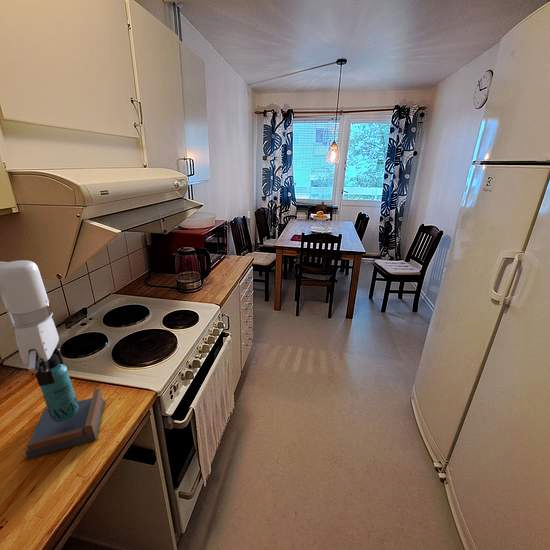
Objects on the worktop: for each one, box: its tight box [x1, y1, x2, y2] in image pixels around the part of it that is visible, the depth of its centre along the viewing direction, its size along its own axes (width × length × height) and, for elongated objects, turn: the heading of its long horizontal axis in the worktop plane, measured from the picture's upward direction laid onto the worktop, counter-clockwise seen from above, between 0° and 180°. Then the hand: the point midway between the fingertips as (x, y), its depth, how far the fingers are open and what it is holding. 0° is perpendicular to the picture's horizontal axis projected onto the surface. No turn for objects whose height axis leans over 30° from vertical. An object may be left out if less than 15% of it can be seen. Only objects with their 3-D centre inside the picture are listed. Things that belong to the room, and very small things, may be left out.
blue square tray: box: [24, 387, 105, 459], centre depth 80 cm, size 15×14×6 cm
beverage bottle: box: [38, 354, 79, 422], centre depth 75 cm, size 6×7×20 cm
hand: (52, 373), depth 73 cm, fingers closed on beverage bottle, 6 cm apart
